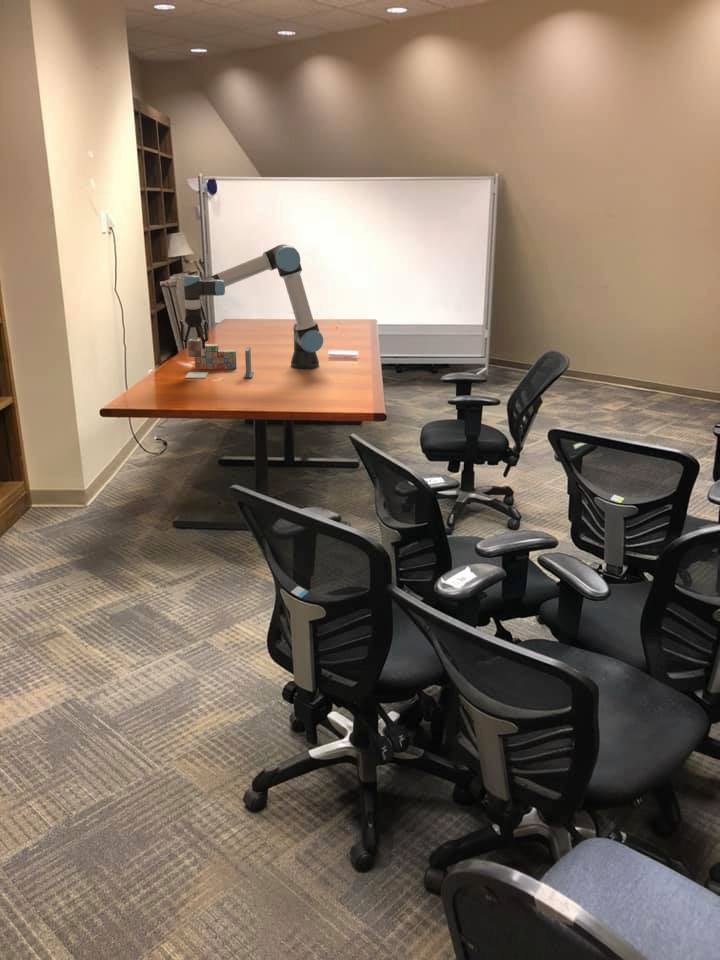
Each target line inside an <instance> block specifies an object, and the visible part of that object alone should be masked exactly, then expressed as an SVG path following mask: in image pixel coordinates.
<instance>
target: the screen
mask: <svg viewBox="0 0 720 960" xmlns="http://www.w3.org/2000/svg"><path fill="white" fill-rule="evenodd" d="M244 351H245V352H244V353H245V373H244V376H243V379H244V380H253V376H254V374H255V373H254V371H252V356H251V355H252V353H251V351H252V350H251V346H249V345H248V346H246V348H245V349H244Z"/></svg>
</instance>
